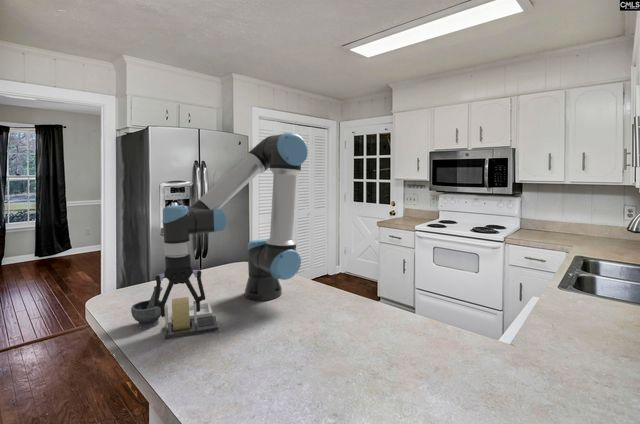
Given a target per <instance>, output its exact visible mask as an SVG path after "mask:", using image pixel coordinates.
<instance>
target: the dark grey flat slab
mask: <svg viewBox="0 0 640 424" xmlns="http://www.w3.org/2000/svg"><path fill="white" fill-rule="evenodd" d="M190 326H191V328H190V329H188V330H182V331H176V332H173V321H172V322H171V321H168V327H167V328H166V324H165V326H164V340H170V339H175V338H183V337H190V336H195V335H200V334H206V333H212V332H218V331H219V330H220V329H219V324H218V321H217V317H216V315H212V316H209V317H203V318H197V323H195V322H194V319H190Z"/></svg>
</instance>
